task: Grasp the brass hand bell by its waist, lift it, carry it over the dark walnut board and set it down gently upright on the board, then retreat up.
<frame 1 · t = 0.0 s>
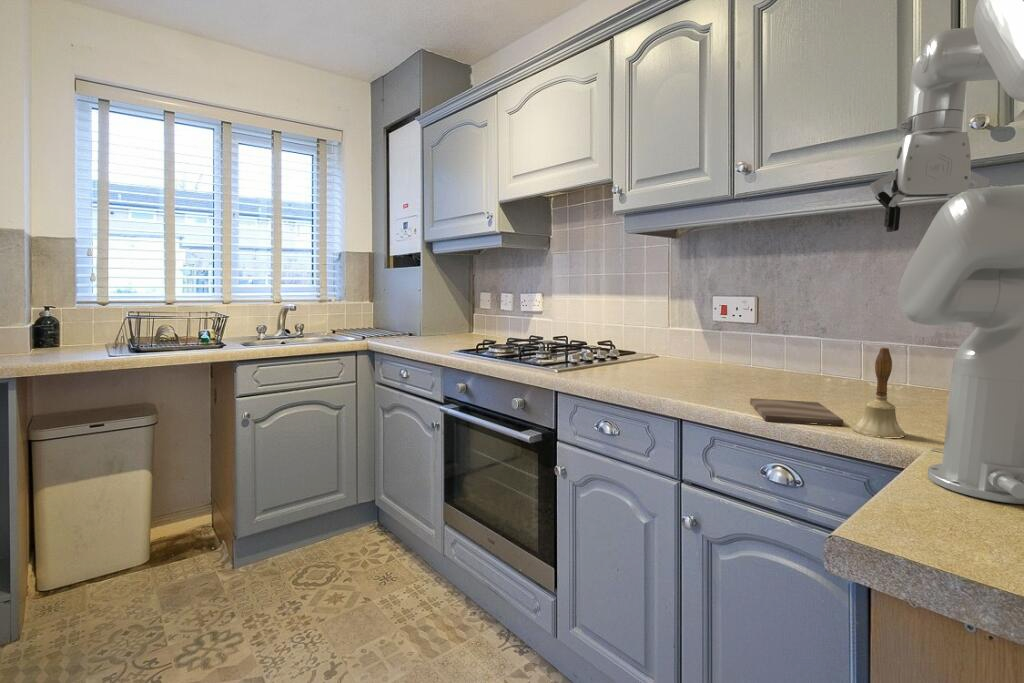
hand: (923, 231, 94), 37 cm above the worktop, tool pointing down, fingers open, 9 cm apart
hand bell: (878, 433, 102), on the worktop
walnut board: (792, 413, 116), on the worktop
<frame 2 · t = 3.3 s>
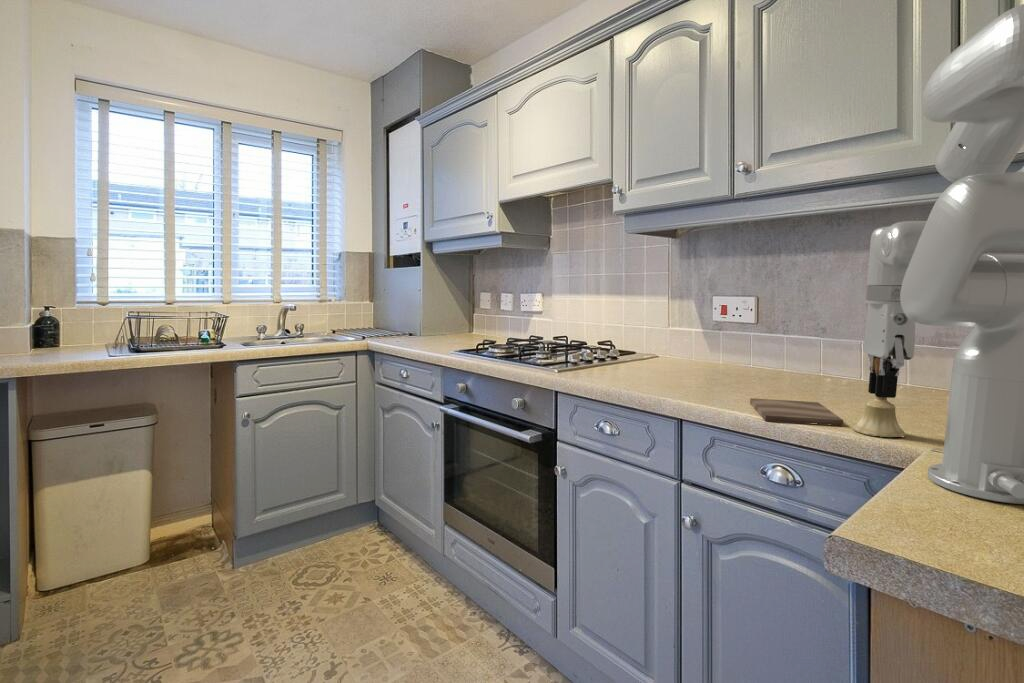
hand: (881, 394, 101), 7 cm above the worktop, tool pointing down, fingers closed on hand bell
hand bell: (878, 433, 102), on the worktop, touching gripper
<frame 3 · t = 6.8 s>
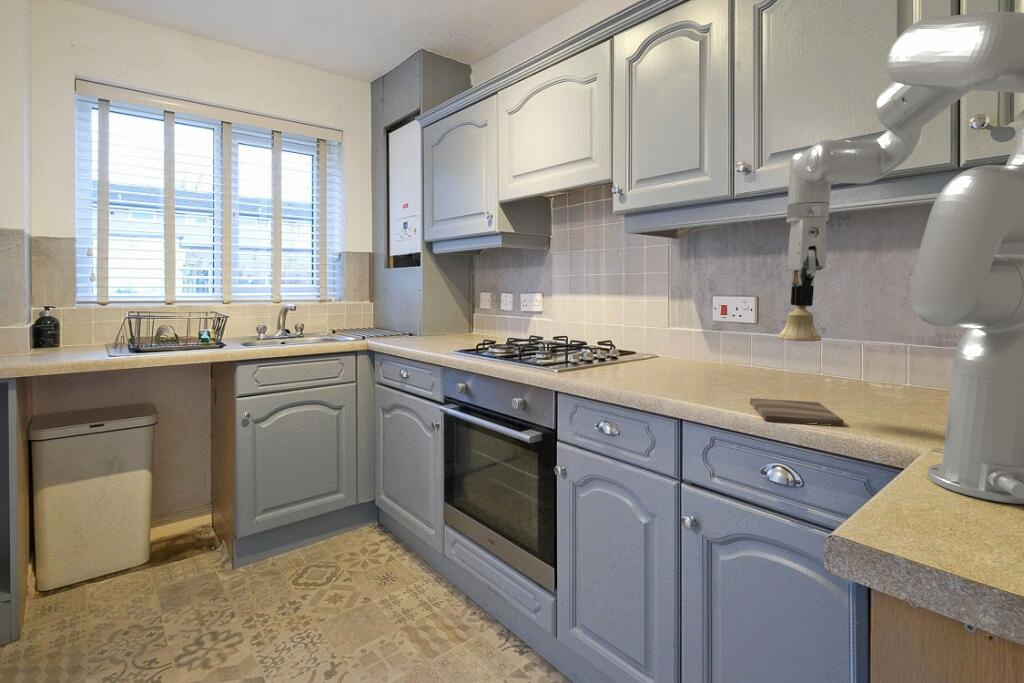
hand: (801, 304, 113), 23 cm above the worktop, tool pointing down, fingers closed on hand bell
hand bell: (798, 340, 114), point 16 cm above the worktop, touching gripper
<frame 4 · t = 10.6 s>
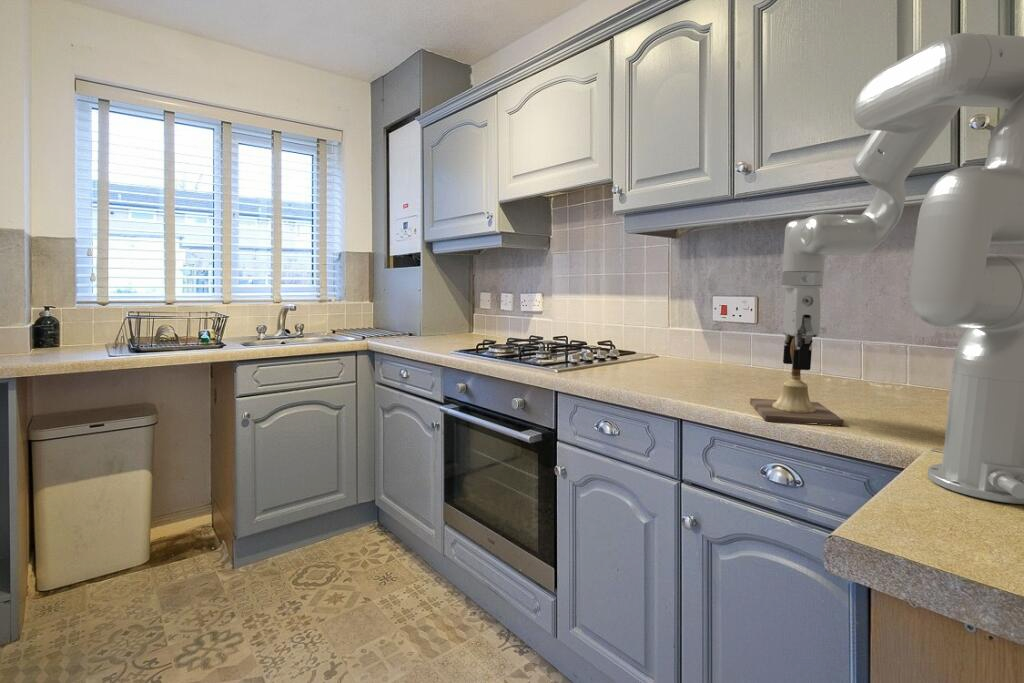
hand: (796, 366, 114), 10 cm above the worktop, tool pointing down, fingers open, 7 cm apart
hand bell: (793, 409, 115), point 1 cm above the worktop, touching walnut board
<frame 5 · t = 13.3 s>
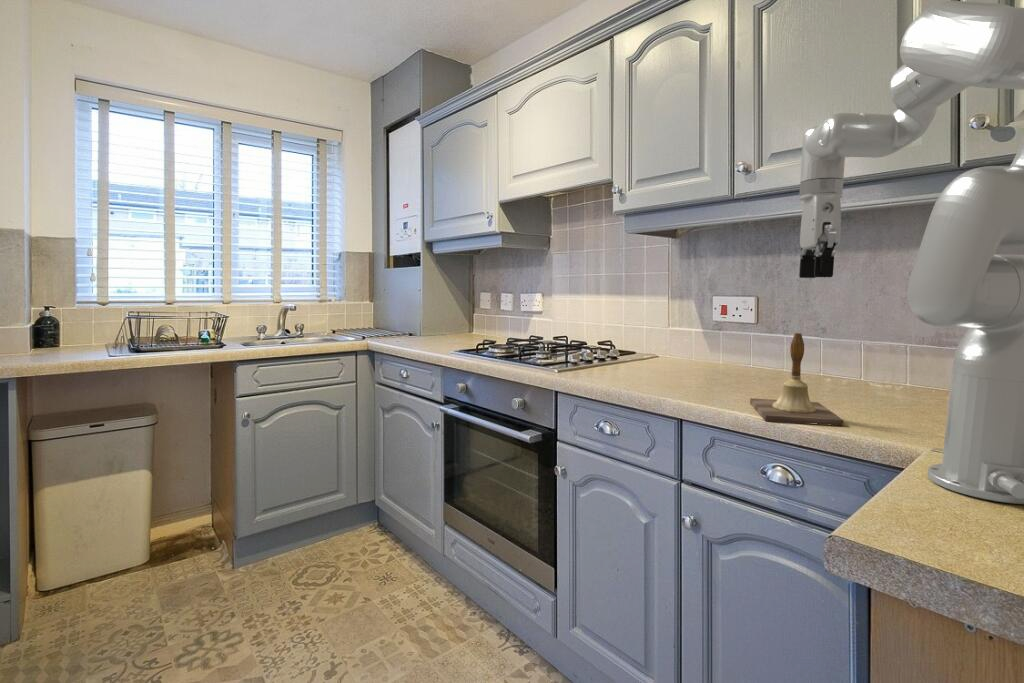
hand: (815, 277, 111), 29 cm above the worktop, tool pointing down, fingers open, 9 cm apart
nothing on the worktop moved.
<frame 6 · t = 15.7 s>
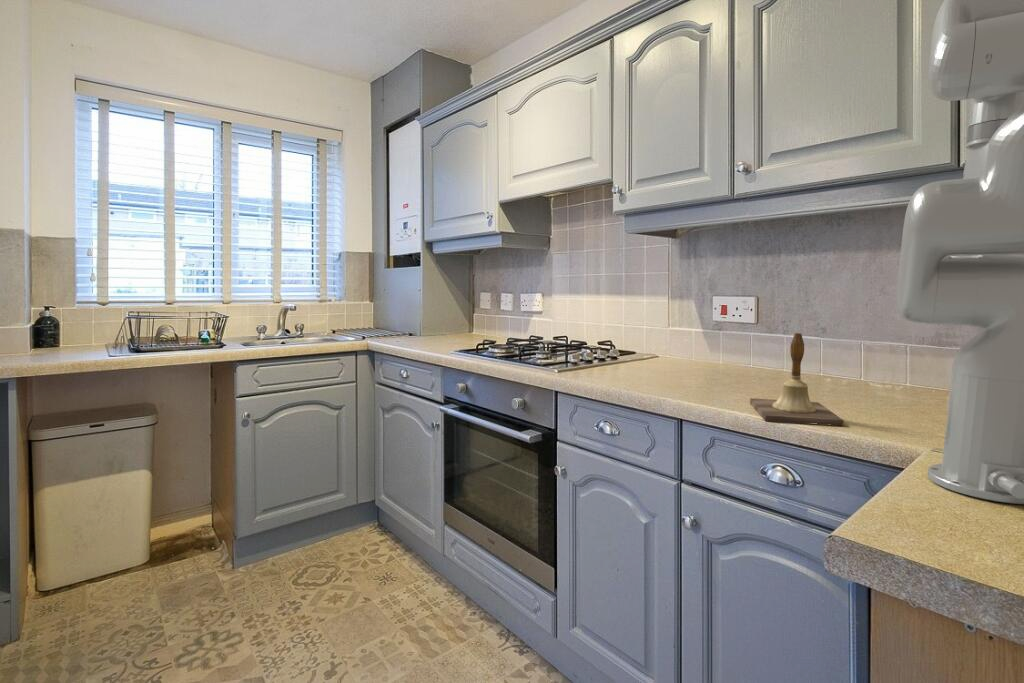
hand: (983, 235, 98), 36 cm above the worktop, tool pointing down, fingers open, 9 cm apart
nothing on the worktop moved.
at the end: hand bell inside the target area on the walnut board (0.2 cm from its centre), point 1.0 cm above the walnut board's base; hand bell tilted 0°; the gripper is holding nothing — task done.
